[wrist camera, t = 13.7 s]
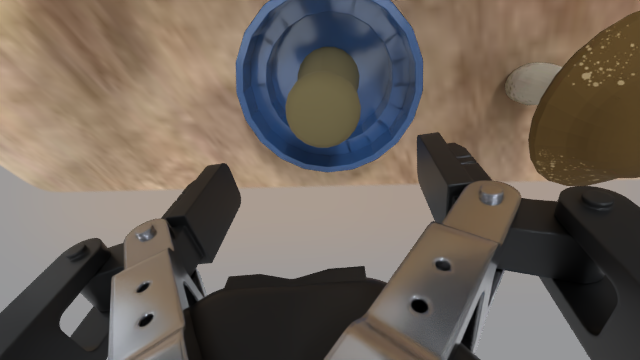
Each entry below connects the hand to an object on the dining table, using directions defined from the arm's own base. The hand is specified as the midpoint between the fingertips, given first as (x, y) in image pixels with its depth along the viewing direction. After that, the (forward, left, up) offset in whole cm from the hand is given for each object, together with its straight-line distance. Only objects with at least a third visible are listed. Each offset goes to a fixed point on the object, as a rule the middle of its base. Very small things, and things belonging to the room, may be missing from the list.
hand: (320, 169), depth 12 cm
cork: (0, 0, -18) cm, 18 cm away
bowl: (0, 0, -19) cm, 19 cm away
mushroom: (+3, +18, -19) cm, 26 cm away
